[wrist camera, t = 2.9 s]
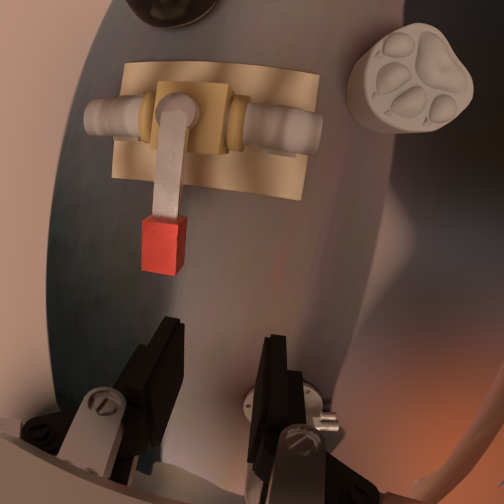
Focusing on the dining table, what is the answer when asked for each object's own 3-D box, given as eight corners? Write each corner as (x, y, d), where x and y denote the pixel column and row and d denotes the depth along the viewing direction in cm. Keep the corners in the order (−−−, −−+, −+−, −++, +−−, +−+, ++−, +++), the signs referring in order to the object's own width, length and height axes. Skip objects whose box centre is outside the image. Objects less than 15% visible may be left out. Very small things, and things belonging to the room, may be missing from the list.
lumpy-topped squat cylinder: (451, 101, 28) (491, 95, 20) (379, 154, 32) (410, 158, 23) (402, 32, 26) (433, 8, 18) (324, 80, 29) (340, 60, 21)
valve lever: (165, 94, 21) (153, 90, 18) (202, 96, 21) (194, 90, 18) (151, 258, 25) (140, 269, 23) (185, 264, 25) (176, 276, 23)
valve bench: (317, 78, 29) (337, 49, 19) (299, 198, 34) (311, 221, 24) (130, 65, 30) (81, 43, 19) (117, 176, 34) (64, 190, 24)
